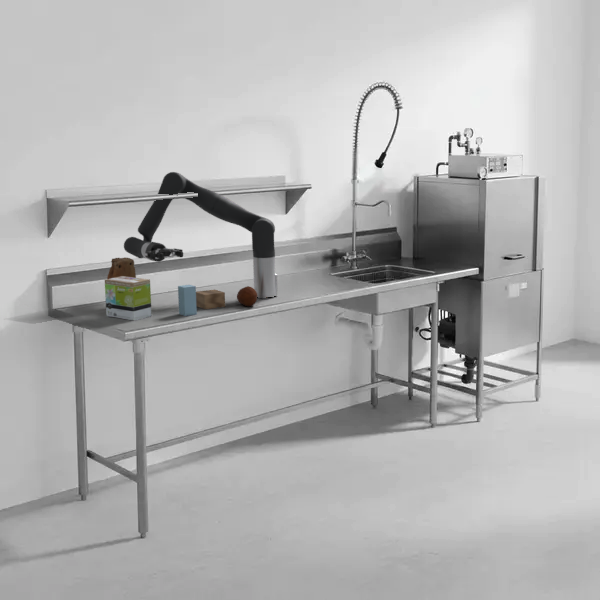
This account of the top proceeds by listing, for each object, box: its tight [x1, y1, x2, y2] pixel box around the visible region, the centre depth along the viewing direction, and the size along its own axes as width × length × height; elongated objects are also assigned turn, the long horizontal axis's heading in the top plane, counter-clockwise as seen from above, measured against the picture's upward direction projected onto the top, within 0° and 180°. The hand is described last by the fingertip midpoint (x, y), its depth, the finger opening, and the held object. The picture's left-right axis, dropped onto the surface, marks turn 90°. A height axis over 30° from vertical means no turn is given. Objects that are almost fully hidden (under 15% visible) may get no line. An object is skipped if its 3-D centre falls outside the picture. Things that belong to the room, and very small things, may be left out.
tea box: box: [104, 276, 152, 321], centre depth 339 cm, size 15×10×15 cm
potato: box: [236, 285, 258, 307], centre depth 359 cm, size 8×12×8 cm, turn 34°
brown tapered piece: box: [106, 257, 137, 279], centre depth 357 cm, size 11×8×20 cm
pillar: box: [177, 284, 198, 317], centre depth 342 cm, size 5×5×11 cm
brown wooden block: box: [196, 289, 226, 310], centre depth 359 cm, size 9×9×6 cm
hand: (172, 255), depth 348 cm, fingers open, 8 cm apart
